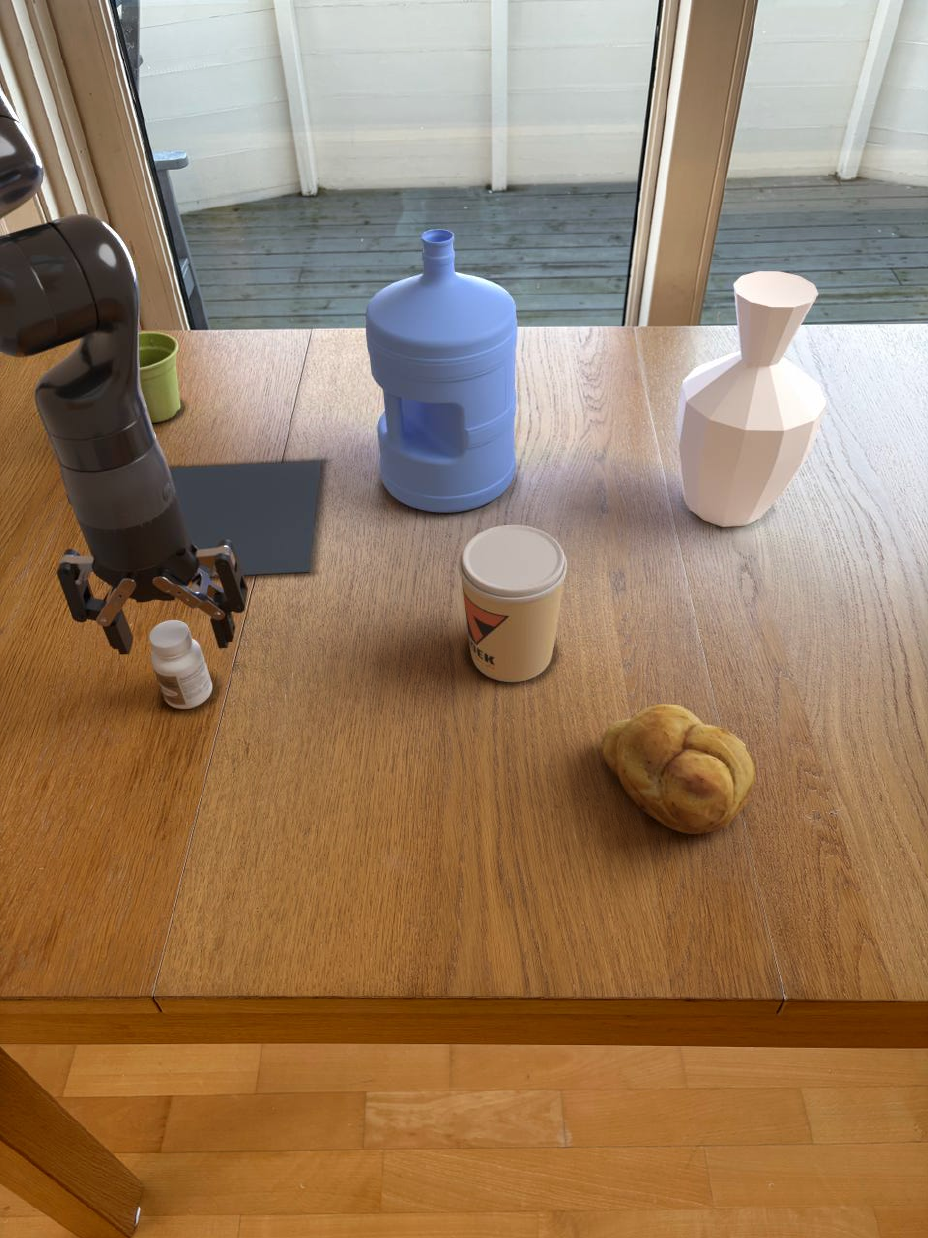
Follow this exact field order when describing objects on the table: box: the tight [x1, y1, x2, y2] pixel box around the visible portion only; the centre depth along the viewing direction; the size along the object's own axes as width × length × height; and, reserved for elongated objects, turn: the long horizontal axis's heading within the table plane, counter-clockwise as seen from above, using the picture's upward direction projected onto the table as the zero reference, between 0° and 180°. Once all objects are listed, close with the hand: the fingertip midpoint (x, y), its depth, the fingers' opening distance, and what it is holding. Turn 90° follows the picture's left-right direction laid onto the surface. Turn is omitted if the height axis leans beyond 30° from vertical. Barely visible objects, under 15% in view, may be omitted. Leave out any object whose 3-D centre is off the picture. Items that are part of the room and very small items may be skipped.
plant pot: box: [139, 331, 182, 424], centre depth 119 cm, size 9×9×9 cm
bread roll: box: [601, 703, 756, 835], centre depth 76 cm, size 13×10×8 cm
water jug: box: [365, 228, 518, 514], centre depth 101 cm, size 16×16×28 cm
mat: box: [169, 460, 322, 578], centre depth 106 cm, size 20×20×1 cm
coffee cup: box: [458, 524, 568, 683], centre depth 86 cm, size 9×9×12 cm
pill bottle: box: [148, 619, 213, 710], centre depth 85 cm, size 4×4×8 cm
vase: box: [675, 270, 828, 528], centre depth 97 cm, size 14×14×25 cm
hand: (175, 644), depth 83 cm, fingers open, 8 cm apart
